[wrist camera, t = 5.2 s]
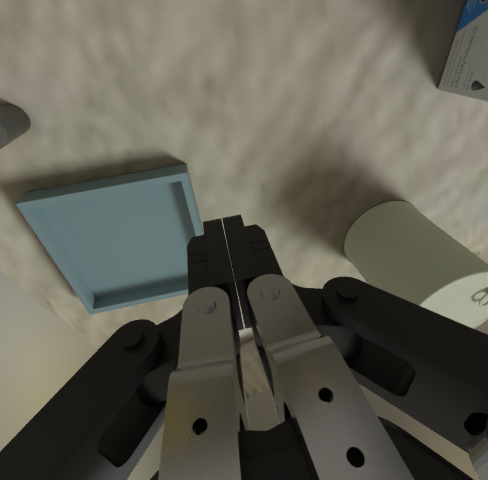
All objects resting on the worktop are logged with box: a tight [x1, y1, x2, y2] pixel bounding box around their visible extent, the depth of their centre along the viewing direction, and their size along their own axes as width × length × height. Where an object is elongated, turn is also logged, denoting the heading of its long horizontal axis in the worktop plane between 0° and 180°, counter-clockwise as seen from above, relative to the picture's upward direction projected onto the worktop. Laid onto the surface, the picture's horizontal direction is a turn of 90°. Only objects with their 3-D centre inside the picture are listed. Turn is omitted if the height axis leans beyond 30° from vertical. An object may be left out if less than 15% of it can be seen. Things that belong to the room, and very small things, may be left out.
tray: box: [16, 164, 204, 314], centre depth 27 cm, size 13×13×2 cm
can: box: [344, 201, 488, 329], centre depth 29 cm, size 9×9×12 cm
